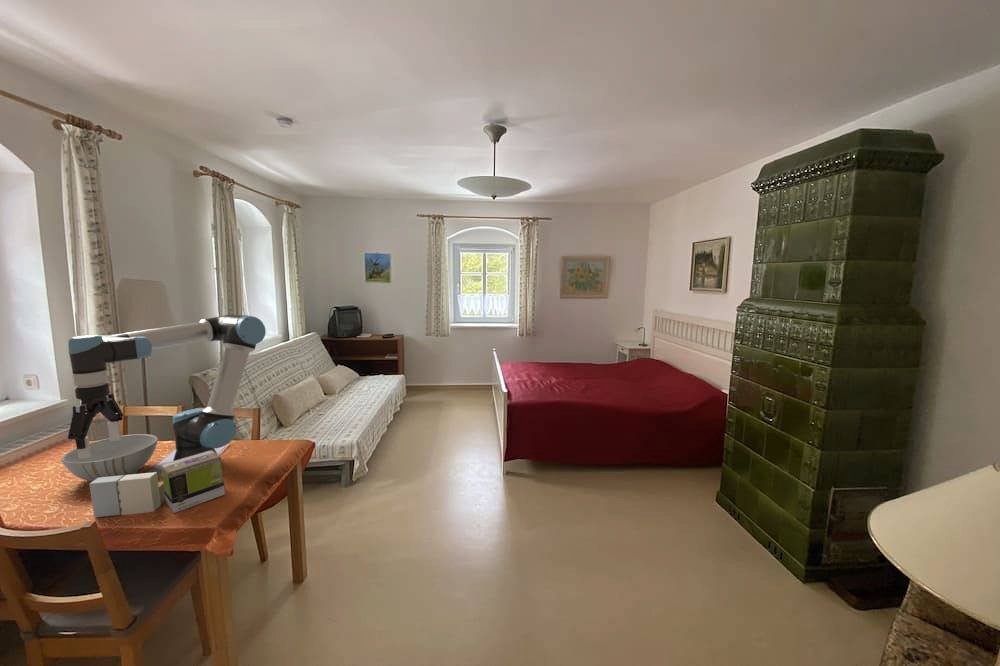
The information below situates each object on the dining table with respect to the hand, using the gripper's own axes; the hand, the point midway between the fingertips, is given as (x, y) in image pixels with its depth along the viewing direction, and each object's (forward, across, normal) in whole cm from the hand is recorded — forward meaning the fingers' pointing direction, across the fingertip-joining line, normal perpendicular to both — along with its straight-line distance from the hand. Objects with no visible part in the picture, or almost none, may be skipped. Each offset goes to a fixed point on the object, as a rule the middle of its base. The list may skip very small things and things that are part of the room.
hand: (101, 448), depth 128 cm
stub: (+23, 0, 0) cm, 23 cm away
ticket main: (+23, -2, +9) cm, 24 cm away
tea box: (+23, -3, +23) cm, 33 cm away
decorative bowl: (+23, -29, -15) cm, 40 cm away
